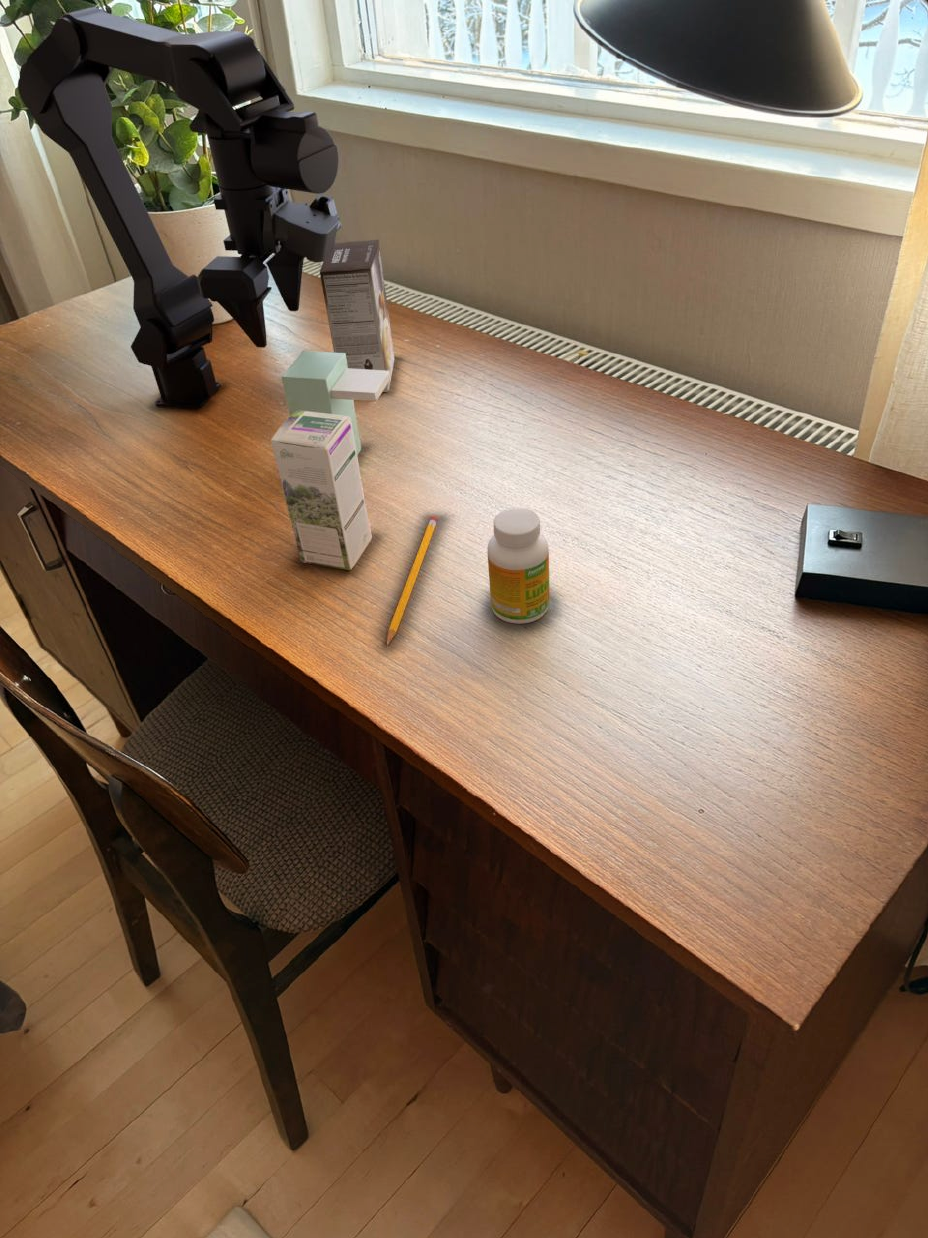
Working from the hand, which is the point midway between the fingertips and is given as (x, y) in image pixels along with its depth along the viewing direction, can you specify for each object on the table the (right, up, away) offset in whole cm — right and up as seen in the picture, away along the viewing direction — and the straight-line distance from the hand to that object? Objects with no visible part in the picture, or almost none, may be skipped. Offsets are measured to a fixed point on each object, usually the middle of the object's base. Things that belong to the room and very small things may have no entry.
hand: (278, 328), depth 105 cm
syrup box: (+8, -26, -10) cm, 29 cm away
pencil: (+16, -29, -14) cm, 36 cm away
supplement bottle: (+26, -31, -18) cm, 45 cm away
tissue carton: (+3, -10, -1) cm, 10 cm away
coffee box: (+8, -1, +18) cm, 20 cm away
